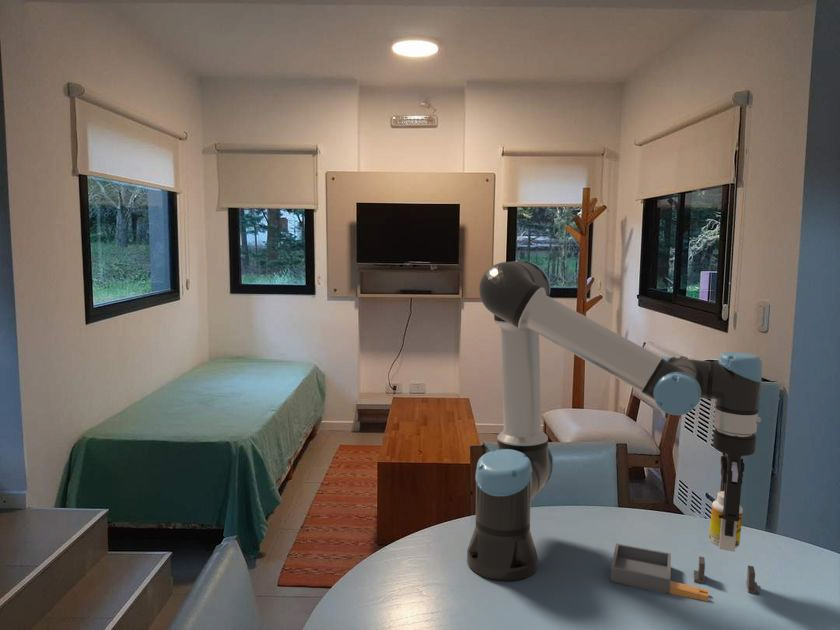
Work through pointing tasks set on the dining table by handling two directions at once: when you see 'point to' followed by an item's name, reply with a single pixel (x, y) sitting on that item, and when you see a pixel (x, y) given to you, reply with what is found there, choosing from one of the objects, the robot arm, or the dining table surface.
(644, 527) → the dining table surface
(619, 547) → the parts tray
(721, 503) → the supplement bottle
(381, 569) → the dining table surface
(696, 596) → the fuse puller tool
